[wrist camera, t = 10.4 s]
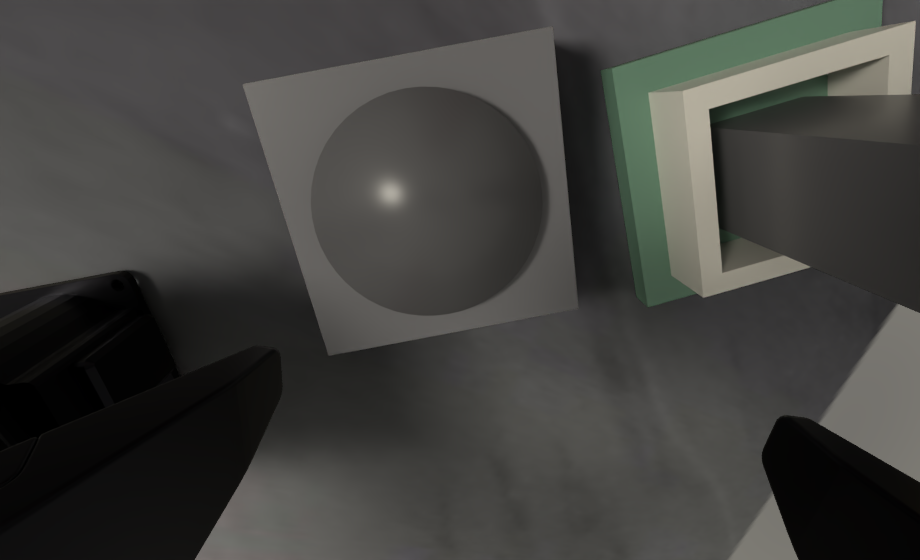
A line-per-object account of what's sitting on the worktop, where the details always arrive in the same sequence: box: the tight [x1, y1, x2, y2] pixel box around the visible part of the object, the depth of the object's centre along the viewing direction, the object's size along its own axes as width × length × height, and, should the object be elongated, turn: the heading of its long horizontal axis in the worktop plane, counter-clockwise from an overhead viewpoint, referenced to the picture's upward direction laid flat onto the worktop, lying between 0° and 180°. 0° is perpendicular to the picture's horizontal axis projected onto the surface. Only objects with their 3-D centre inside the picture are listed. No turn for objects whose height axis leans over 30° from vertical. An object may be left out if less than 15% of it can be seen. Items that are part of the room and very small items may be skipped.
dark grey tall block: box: [710, 94, 920, 313], centre depth 13 cm, size 5×4×12 cm
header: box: [601, 0, 916, 307], centre depth 18 cm, size 10×10×4 cm
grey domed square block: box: [243, 26, 579, 356], centre depth 18 cm, size 10×10×3 cm
